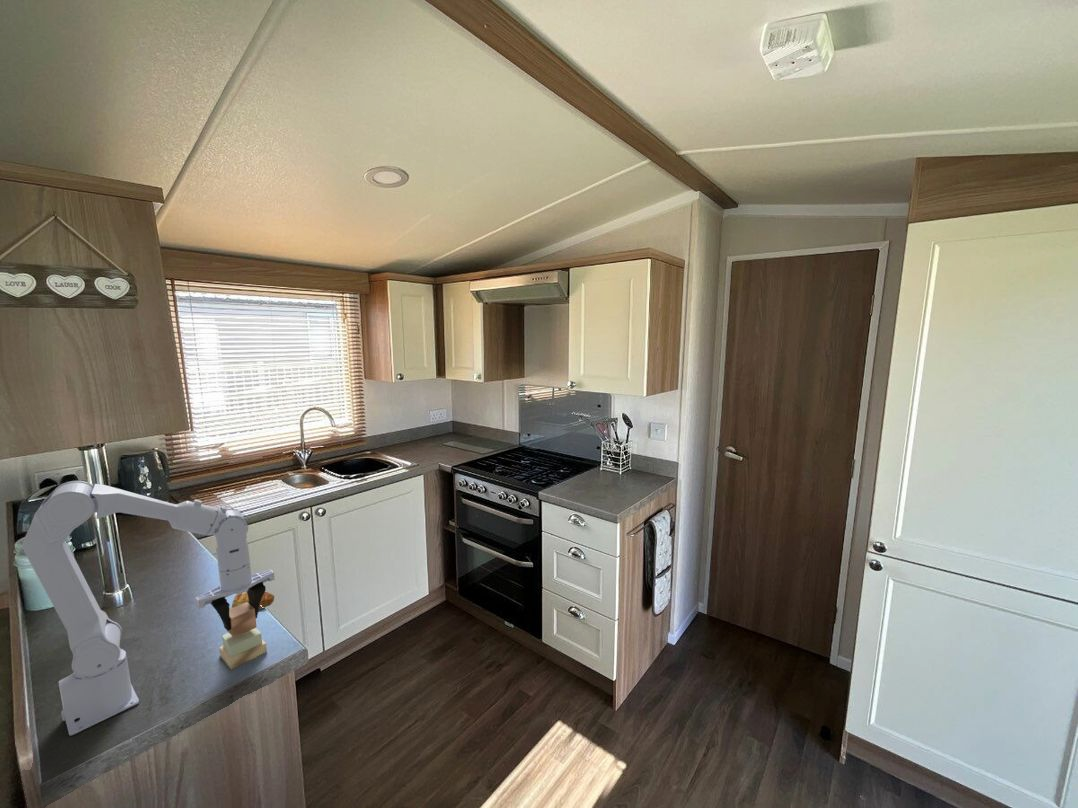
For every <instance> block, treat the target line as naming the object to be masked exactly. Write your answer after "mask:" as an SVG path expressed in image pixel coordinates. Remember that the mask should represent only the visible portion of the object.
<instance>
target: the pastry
mask: <svg viewBox="0 0 1078 808" xmlns="http://www.w3.org/2000/svg"><path fill="white" fill-rule="evenodd" d="M232 600H233V601H232V602H231V603H232V604H231V608H233V607H236V606H238V605H240V604H243V603H245V602H248V603H249V599H248V594H247V592H244V593H241V594H236V595H235V596H234V598H233V599H232ZM274 601H275V595H274V594H272V593H270V592H268V591H265V593H264V595H263V597H262V599H261V602H260V605H262V607H264V608H263V609H265V608H266V607H269V606H271V605H272V604H273V602H274ZM260 605H259V609H258V611H259V610H263V609H262V607H261V606H260Z"/></svg>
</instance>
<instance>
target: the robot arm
mask: <svg viewBox="0 0 1078 808" xmlns="http://www.w3.org/2000/svg"><path fill="white" fill-rule="evenodd" d="M116 513H117V514H118V513H122V514H126V515H127V514H128V515H133V516H138V517H139V516H140V517H146V518H151V519H157V520H162V521H167V522H169V524H170V526H171V528H172V529H175V530H177V531H178V530H179V531H183V532H188V533H193V534H199V535H202V536H214V537H215V539H216V550H215V552H216V559H217V560H216V561H217V569H218V575H219V577H218V578H219V583H220V585H218V586H216V587H214V588H212V589H210V590H209V591H207V592H205V593H203V594H201V595H198V596H195V604H196V607H197V608H198V609H199V610H200V609H203V608H206V606H207V605H209V604H210V605H211V606H212V608H214V609H215V611H216V613H217V614H218V616H219V617H220V620H221V622H222V624H223V626H224V629H225V630H226V632H228V630H231V622H230V616H229V609H230V606H231V605H230V603H229V602H228V601H227V600H228V599H227V598H228V597H230V596H233V595H235V594H236V595H237V594H241V593H243V594H244V593H245V592H247V594H248V599H249V604H250V605H251V606H252V607H253V608H254V609H255V617H256V619H257V618H258V616H259V615H258V613H259V610H260V609H259V605H260V602H261V599H262V597H263V595H264V593H265V592H266V587H267V586H266V585H264V583H266V582H272V581H274V580H275V578H276V577H275V572H274V571H273V570H272V569H268V570H265V571H262V572H258V573H253V574H252V570H251V569H252V568H251V559H250V552H249V551H250V549H249V542H248V541H247V538H248V537H247V534H248V530H249V524H248V523H247V521H246V519H245V518H244V515H243V514H242V513H241V512H240V511H239V510H236V509H234V508H232V507H228V508H227V507H224V506H221V507H214V506H211V505H208V504H207V505H206V504H203V501H202V500H200V499H194V500H193V501H192V500H191V501H190V500H186V501H183V502H180V503H176V504H175V503H172V502H169V501H164V500H161V499H156V498H154V497H150V496H145V495H143V494H139V493H135V492H133V491H132V492H131V491H128V490H124V489H121V488H118V487H114V486H110V485H106V484H100V483H94V484H92V483H90V482H87V481H84V480H71V481H66V482H64V483H62V484H60V485H58V486H57V487H55V489H54V490H53V491H51V492H50V493H49V495H48V496H47V497H45V498H44V500H43V501H42V503H41V504H40V506H39V507H38V509H37V511H35V513H34V515H33V518H32V520H31V523H30V524H29V527H28V529H27V532H26V534H25V536H24V539H23V541H22V544H21V545H22V550H23V552H24V554H25V556H26V558H27V559H28V562H29V563H30V565H31V567H32V569H33V570H34V572H35V574H36V576H37V578H38V580H39V582H40V583H41V586H42V587H43V589H44V592H45V593H46V595H47V597H48V598H49V600H50V602H51V604H52V605H53V607H54V610H55V611H56V613H57V615H58V617H59V619H60V621H61V623H62V624H63V626H64V628H65V630H66V633H67V637H68V638H67V639H68V646H69V649H70V650H71V653H72V661H71V670H72V672H73V673H71V674H70V675H68V676H66V677H64V678H61V679H60V680H59V681H58V687H59V692H60V693H59V694H60V698H61V703H62V710H61V711H60V713H61V717H62V718H61V719H62V721H63V722H65V724H66V728H67V731H68V732H67V733H68V735H69V736H74V735H76V734H78V733H80V732H82V731H84V730H86V729H89V728H91V727H92V726H95V725H97V724H99V723H101V722H103V721H105V720H107V719H109V718H111V717H113V716H115V715H117V714H120V713H122V712H124V711H126V710H127V709H130V708H131V707H134V706H136V705H138V704H139V703H140V699H139V697H138V695H137V692H136V691H135V689H134V687H133V685H132V683H131V676H130V670H129V663H128V657H127V656H128V655H127V652H126V650H124V649H123V648H121V647H120V644H121V637H122V634H123V633H122V632H123V629H122V626H121V625H120V623H118V622H116V621H114V620H112V619H110V618H109V616H108V614H107V613H106V611H103V610H102V609H101V607H100V606H99V603H98V602H97V600H96V597H95V595H94V594H93V592H92V590H91V588H90V586H89V584H88V582H87V580H86V578H85V576H84V574H83V572H82V570H81V568H80V566H79V564H78V562H77V560H76V558H75V557H74V554H73V553H72V552H73V551H71V548H70V546H69V544H68V543H67V539H68V538H69V536H70V535H71V534H72V532H73V531H74V530H75V529H76V528H79V526H81V525H82V524H85V522H86V521H88V520H89V519H90V518H91V516H92V515H93V514H96V517H95V518H96V520H98V519H101V518H105V517H107V516H111V515H114V514H116ZM258 609H259V610H258Z"/></svg>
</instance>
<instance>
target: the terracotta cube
mask: <svg viewBox="0 0 1078 808" xmlns="http://www.w3.org/2000/svg"><path fill="white" fill-rule="evenodd" d="M229 616H230V622H231V630H228V631H227V633H230V634H231V635H232V636H233V638H234V637H236V636H239V635H241V634H243V633H245V632H247V631H250V630H252V629H254V628H258V627H257V618H256V617H255V609H254V608H253V607H252V606H251V605H250V604H249V603H248V602H245V603H243V604H240V605H238V606H236V607H233V608H232V607H231V608H229Z"/></svg>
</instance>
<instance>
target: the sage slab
mask: <svg viewBox="0 0 1078 808" xmlns="http://www.w3.org/2000/svg"><path fill="white" fill-rule="evenodd" d="M221 636H222V637H221V638H222V646H224V648H225V649H226V651H227V652H228V654H229V655H230V657H234V656H236V655H238V654H240V653H242V652H245V651H247V650H249V649H251V648H253V647H256V646H258V645H260V644H262V640H263V637H262V632H261V631H260V629H258V627H256V628H254V629H252V630H250V631H247V632H245V633H243V634H241V635H239V636H236V637H234V638H233V636H232V635H231V634H230V633H229V632H226V633H225V634H223V635H221Z"/></svg>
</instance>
